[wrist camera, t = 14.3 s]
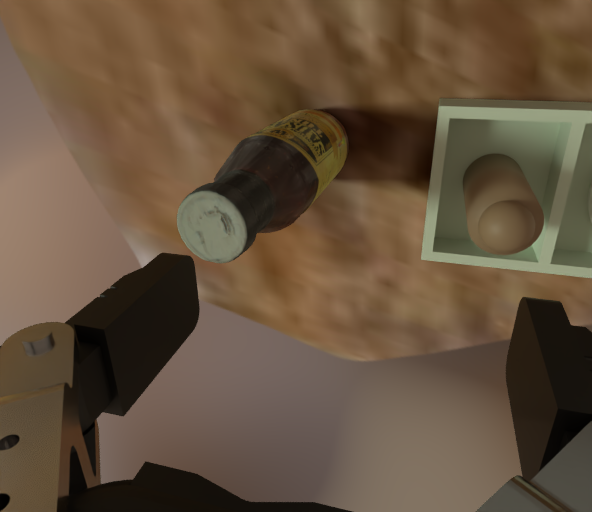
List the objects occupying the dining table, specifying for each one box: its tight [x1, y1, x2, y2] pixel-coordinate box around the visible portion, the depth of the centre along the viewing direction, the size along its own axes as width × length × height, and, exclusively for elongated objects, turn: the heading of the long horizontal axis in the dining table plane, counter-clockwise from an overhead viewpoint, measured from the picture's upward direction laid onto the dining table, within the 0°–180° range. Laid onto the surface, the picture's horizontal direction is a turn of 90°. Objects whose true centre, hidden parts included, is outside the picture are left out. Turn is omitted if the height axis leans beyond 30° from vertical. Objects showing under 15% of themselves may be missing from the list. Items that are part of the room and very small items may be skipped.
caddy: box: [421, 98, 592, 278], centre depth 32 cm, size 12×18×12 cm, turn 90°
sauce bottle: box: [177, 109, 349, 263], centre depth 33 cm, size 7×6×20 cm
